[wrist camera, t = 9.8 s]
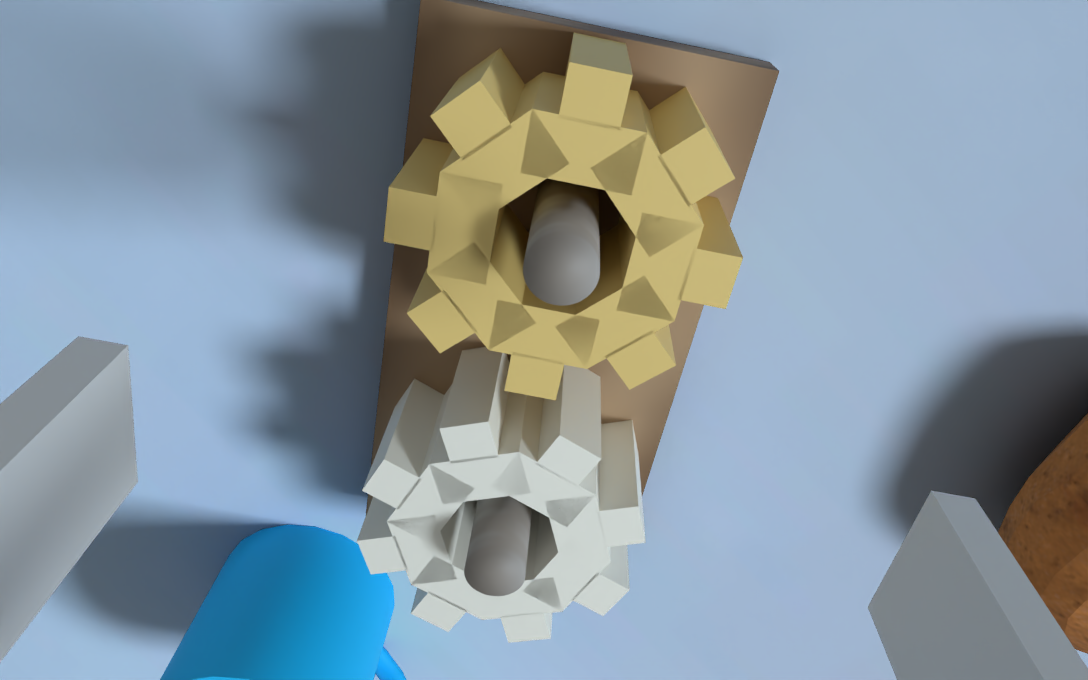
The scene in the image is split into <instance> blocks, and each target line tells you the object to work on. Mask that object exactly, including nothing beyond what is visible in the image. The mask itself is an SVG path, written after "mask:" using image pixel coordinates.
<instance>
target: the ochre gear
mask: <svg viewBox="0 0 1088 680" xmlns="http://www.w3.org/2000/svg"><path fill="white" fill-rule="evenodd" d="M632 77H633V74H632V69H631V65H630V60H629V56H628V51H627V46H626V43H622V42H617V41H613V40H608V39H603V38H598V37H594V36H589V35H584V34H579V33H575V32H574V34H573V39H572V44H571V49H570V54H569V59H568V64H567V70H566V75H565V76H562V75H557V74H552V73H547V72H542V73H541V74H539V75H538V76H536V77H535V78H533V79H532V80H530V81H529V82H528V83H526V84H524V82H523V81H522V79H521V78H520V76H519V75H518V73H517V72H516V70H515V69H514V67H513V66H512V64H511V63H510V61H509V60H508V58H507V57H506V55H505V54H504V52H503V51H502V49H501V48H500V49H498V50H497V51H495V52H494V53H493V54H491V55H490V56H488V57H487V58H486V59H484V60H483V61H482V62H480V63H479V64H477V65H476V66H475V67H473V68H472V69H470V70H469V71H468V72H466V73H465V74H464V75H462V76H461V77H459V78H458V80H457V81H456V82H455V84H454V85H453V86H452V88H451V89H450V90H449V92H448V93H447V94H446V96H445V97H444V98H443V100H442V101H441V102H440V104H439V105H438V106H437V108H436V109H435V110H434V112H433V113H432V114H431V116H430V117H431V118H432V119H433V121H434V122H435V123H436V125H437V126H438V128H439V129H440V130H441V132H442V133H443V134H444V136H445V137H446V139H447V140H448V141H449V143H445V142H440V141H435V140H430V139H425V138H423V140H422V141H421V142H420V144H419V145H418V147H417V148H416V149H415V151H414V152H413V154H412V155H411V157H410V158H409V159H408V161H407V162H406V164H405V165H404V166H403V168H402V169H401V171H400V172H399V173H398V175H397V176H396V178H395V179H394V180H393V182H392V183H391V185H390V186H389V191H388V201H387V211H386V221H385V231H384V242H389V243H394V244H399V245H404V246H409V247H414V248H419V249H424V250H429V259H428V267H427V269H426V271H425V273H424V276H423V278H422V280H421V282H420V284H419V287H418V289H417V291H416V293H415V296H414V298H413V300H412V302H411V304H410V307H409V309H408V311H407V314H408V316H409V317H410V318H411V319H412V320H413V322H414V323H415V324H416V325H417V326H418V328H419V329H420V330H421V331H422V332H423V334H424V335H425V336H426V337H427V338H428V340H429V341H430V342H431V343H432V344H433V346H434V347H435V348H436V349H437V350H438V352H439V353H442V352H443V351H445V350H447V349H448V348H450V347H452V346H453V345H455V344H457V343H459V342H460V341H462V340H464V339H465V338H467V337H469V336H470V335H472V334H474V333H475V334H476V335H477V336H478V338H479V339H480V340H481V341H482V343H483V344H484V345H485V346H486V348H487V349H488V350H490V351H495V352H501V353H506V354H511V357H510V362H509V368H508V373H507V379H506V384H505V390H504V391H509V392H514V393H519V394H524V395H530V396H535V397H540V398H545V399H551V400H556V397H557V393H558V389H559V385H560V380H561V376H562V372H563V368H564V365H568V366H573V367H579V368H584V369H588V368H590V367H592V366H594V365H595V364H597V363H599V362H601V361H603V360H605V359H606V358H607V360H608V361H609V362H610V364H611V365H612V366H613V368H614V369H615V371H616V372H617V373H618V375H619V376H620V377H621V379H622V380H623V382H624V383H625V384H626V386H627V387H628V388H629V390H630V389H632V388H634V387H636V386H638V385H640V384H642V383H644V382H645V381H647V380H649V379H651V378H653V377H655V376H657V375H659V374H661V373H663V372H664V371H666V370H668V369H670V368H672V367H674V366H676V362H675V357H674V351H673V345H672V340H671V334H670V328H669V324H671V323H672V322H674V321H675V318H676V315H677V312H678V308H679V305H680V302H681V300H683V301H688V302H693V303H698V304H703V305H708V306H713V307H718V308H723V309H726V306H727V304H728V301H729V298H730V295H731V292H732V289H733V286H734V283H735V280H736V277H737V274H738V271H739V268H740V265H741V262H742V259H743V257H742V254H741V252H740V250H739V247H738V245H737V242H736V240H735V237H734V235H733V233H732V230H731V228H730V225H729V223H728V221H727V218H726V216H725V213H724V211H723V209H722V206H721V204H720V201H719V199H718V198H715V197H710V196H707V195H708V194H710V193H712V192H713V191H715V190H717V189H718V188H720V187H722V186H724V185H725V184H727V183H729V182H730V181H732V180H734V179H735V177H734V175H733V173H732V171H731V169H730V167H729V165H728V163H727V161H726V159H725V157H724V155H723V153H722V151H721V149H720V147H719V145H718V143H717V141H716V139H715V137H714V135H713V133H712V131H711V129H710V128H709V126H708V124H707V123H706V121H705V119H704V117H703V116H702V114H701V112H700V110H699V109H698V107H697V105H696V103H695V102H694V100H693V98H692V97H691V95H690V93H689V91H688V90H687V88H686V87H684V88H683V89H681V90H680V91H678V92H677V93H675V94H673V95H672V96H670V97H669V98H667V99H666V100H664V101H663V102H661V103H660V104H658V105H656V106H655V107H653V108H652V109H650V110H649V109H648V108H647V106H646V104H645V103H644V101H643V99H642V98H641V96H640V94H639V93H638V91H634V90H629V89H630V85H631V81H632ZM547 178H548V179H553V180H558V181H563V182H568V183H573V184H577V185H582V186H587V187H592V188H597V189H602V190H605V191H606V192H607V194H608V195H609V197H610V198H611V200H612V201H613V203H614V204H615V206H616V207H617V209H618V210H619V212H620V213H621V214H620V218H619V222H618V225H617V226H615V227H614V228H612V229H610V230H609V231H607V232H605V233H604V234H602V235H600V236H599V240H600V276H599V280H598V283H597V285H596V287H595V289H594V290H593V292H592V293H591V294H590V295H589V296H588V297H586V298H585V299H583V300H582V301H580V302H578V303H575V304H571V305H565V306H559V305H553V304H549V303H546V302H544V301H542V300H540V299H539V298H537V297H536V296H535V295H534V294H533V293H532V292H531V291H530V290H529V288H528V286H527V285H526V282H525V280H524V275H523V264H524V259H525V253H526V248H527V243H528V238H529V233H528V232H527V230H526V229H525V227H524V226H523V225H522V223H521V222H520V220H519V219H518V218H517V216H516V215H515V213H514V212H513V211H512V209H511V208H510V207H509V205H508V203H509V202H511V201H512V200H514V199H516V198H517V197H519V196H520V195H522V194H523V193H525V192H526V191H528V190H530V189H531V188H533V187H534V186H536V185H537V184H539V183H540V182H542V181H543V180H545V179H547Z"/></svg>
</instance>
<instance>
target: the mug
mask: <svg viewBox="0 0 1088 680" xmlns="http://www.w3.org/2000/svg"><path fill="white" fill-rule="evenodd" d="M393 609H394V591H393V585H392V583H391V581H390V579H389V577H388V575H387V573H379V574H370V571H369V569H368V566H367V564H366V562H365V559H364V557H363V554H362V552H361V549H360V547H359V545H358V544H357V543H355V542H353V541H352V540H350V539H348V538H347V537H345V536H343V535H341V534H338V533H334V532H331V531H328V530H325V529H322V528H319V527H315V526H301V525H288V524H287V525H282V526H277V527H271V528H266V529H261V530H260V531H258V532H256V533H254V534H252V535H250V536H248V537H246V538H245V539H243V540H241V542H240V543H239V544H238V545H237V547H236V548H235V549H234V550H233V551H232V553H231V554H230V555H229V557H228V558H227V560H226V562H225V564H224V566H223V567H222V569H221V571H220V573H219V575H218V576H217V578H216V580H215V582H214V584H213V585H212V587H211V589H210V591H209V593H208V594H207V596H206V598H205V600H204V602H203V603H202V605H201V607H200V609H199V611H198V612H197V614H196V616H195V618H194V620H193V621H192V623H191V625H190V627H189V629H188V630H187V632H186V634H185V636H184V638H183V639H182V641H181V643H180V645H179V647H178V648H177V650H176V652H175V654H174V656H173V657H172V659H171V661H170V663H169V665H168V666H167V668H166V670H165V672H164V674H163V675H162V677H161V679H160V680H374V676H375V674H376V675H377V676H378V678H379V679H380V680H406V678H405V676H404V674H403V672H402V670H401V669H400V668H399V666H398V665H397V664H396V662H395V661H394V660H393V658H392V657H391V656H390V654H389V653H388V651H387V650H386V649H385V648H384V647H383V644H384V641H385V637H386V634H387V630H388V627H389V623H390V620H391V616H392V613H393Z"/></svg>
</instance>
